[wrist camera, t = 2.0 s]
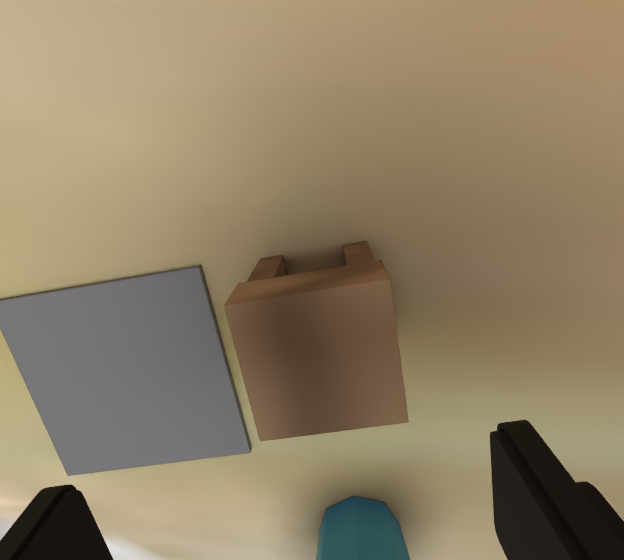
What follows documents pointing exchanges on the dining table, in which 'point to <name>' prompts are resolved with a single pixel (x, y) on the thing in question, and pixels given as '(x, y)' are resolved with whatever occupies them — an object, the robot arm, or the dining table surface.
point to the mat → (127, 371)
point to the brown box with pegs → (318, 347)
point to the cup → (360, 532)
